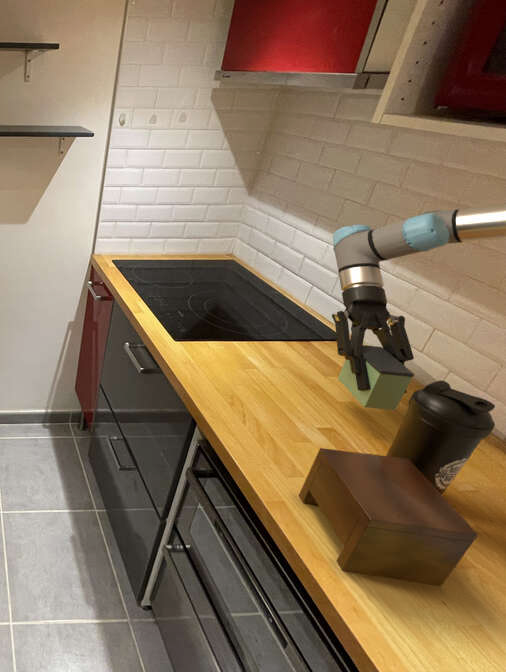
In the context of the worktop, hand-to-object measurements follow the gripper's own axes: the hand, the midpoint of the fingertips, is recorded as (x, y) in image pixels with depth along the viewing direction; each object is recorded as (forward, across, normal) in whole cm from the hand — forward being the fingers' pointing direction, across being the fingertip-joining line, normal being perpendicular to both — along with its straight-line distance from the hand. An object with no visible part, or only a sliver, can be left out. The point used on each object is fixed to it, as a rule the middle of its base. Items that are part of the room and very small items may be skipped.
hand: (382, 391), depth 95 cm
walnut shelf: (+28, +16, +12) cm, 34 cm away
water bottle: (+19, +2, +4) cm, 20 cm away
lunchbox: (0, 0, -5) cm, 5 cm away
